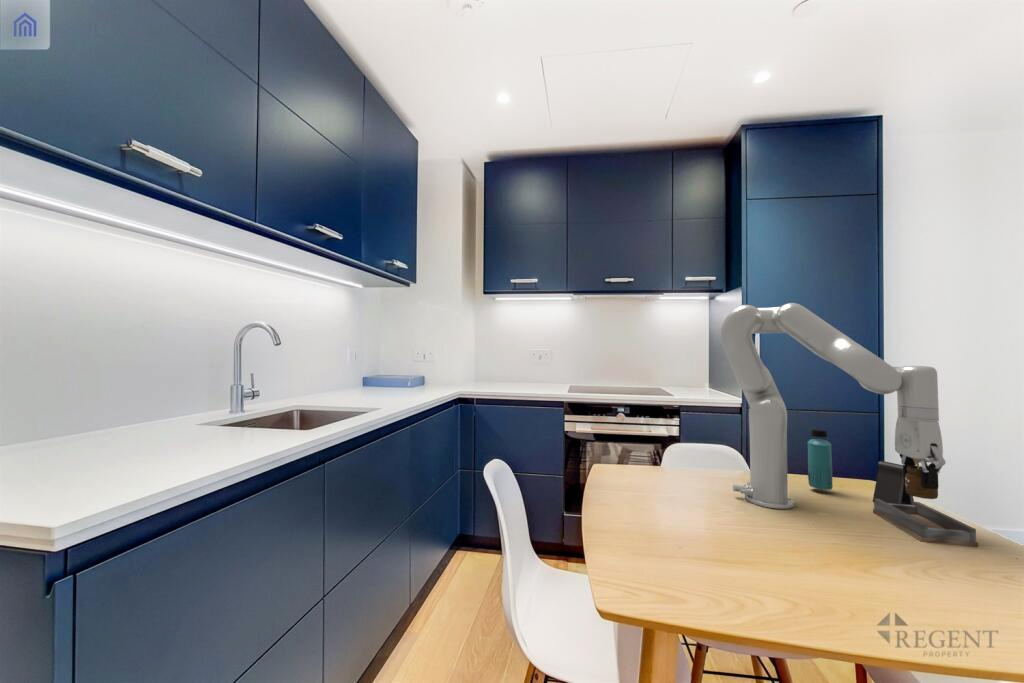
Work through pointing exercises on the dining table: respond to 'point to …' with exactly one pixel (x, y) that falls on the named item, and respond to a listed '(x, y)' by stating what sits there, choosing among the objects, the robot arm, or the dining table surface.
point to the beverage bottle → (819, 461)
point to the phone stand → (891, 484)
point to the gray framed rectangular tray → (926, 523)
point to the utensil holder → (917, 483)
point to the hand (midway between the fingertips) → (920, 483)
